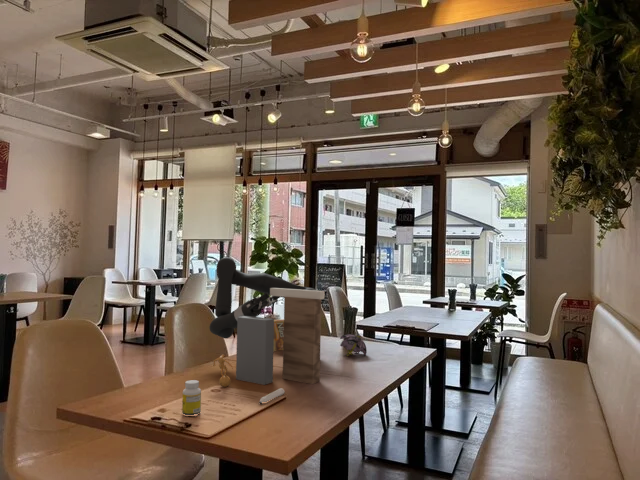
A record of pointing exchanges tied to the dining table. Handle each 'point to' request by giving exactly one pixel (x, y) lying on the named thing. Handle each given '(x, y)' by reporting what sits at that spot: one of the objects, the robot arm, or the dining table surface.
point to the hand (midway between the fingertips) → (274, 294)
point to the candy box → (278, 334)
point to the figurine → (224, 379)
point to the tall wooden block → (302, 339)
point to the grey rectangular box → (255, 349)
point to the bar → (297, 293)
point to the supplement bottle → (191, 398)
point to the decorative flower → (353, 344)
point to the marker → (272, 395)
